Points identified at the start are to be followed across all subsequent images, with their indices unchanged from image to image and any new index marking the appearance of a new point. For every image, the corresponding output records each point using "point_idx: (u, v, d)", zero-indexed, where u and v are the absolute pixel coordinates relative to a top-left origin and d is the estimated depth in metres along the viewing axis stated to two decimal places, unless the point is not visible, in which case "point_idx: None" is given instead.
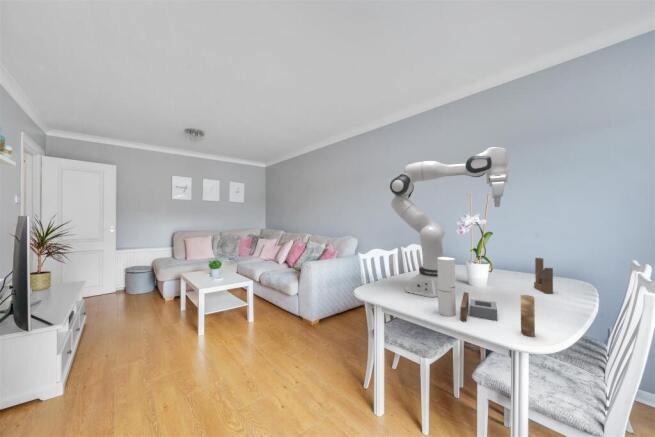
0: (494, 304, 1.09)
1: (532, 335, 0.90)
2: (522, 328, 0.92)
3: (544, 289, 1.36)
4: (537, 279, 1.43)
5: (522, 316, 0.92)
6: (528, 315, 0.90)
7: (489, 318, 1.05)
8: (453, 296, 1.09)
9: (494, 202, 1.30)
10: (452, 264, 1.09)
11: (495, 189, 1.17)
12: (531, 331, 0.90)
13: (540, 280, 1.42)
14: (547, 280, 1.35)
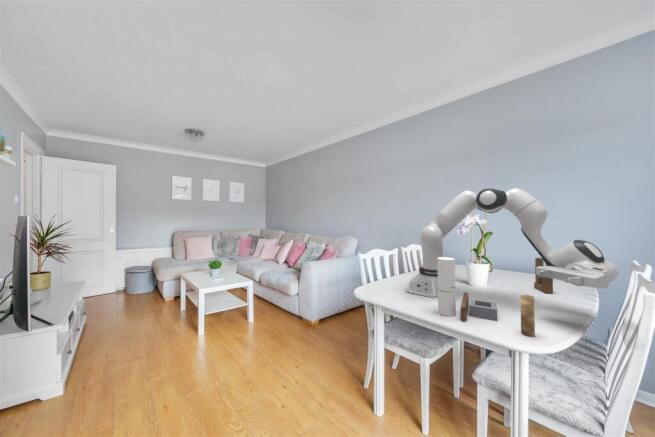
0: (494, 304, 1.09)
1: (532, 335, 0.90)
2: (522, 328, 0.92)
3: (544, 289, 1.36)
4: (537, 279, 1.43)
5: (522, 316, 0.92)
6: (528, 315, 0.90)
7: (489, 318, 1.05)
8: (453, 296, 1.09)
9: (542, 271, 1.00)
10: (452, 264, 1.09)
11: (601, 278, 0.86)
12: (531, 331, 0.90)
13: (540, 280, 1.42)
14: (547, 280, 1.35)
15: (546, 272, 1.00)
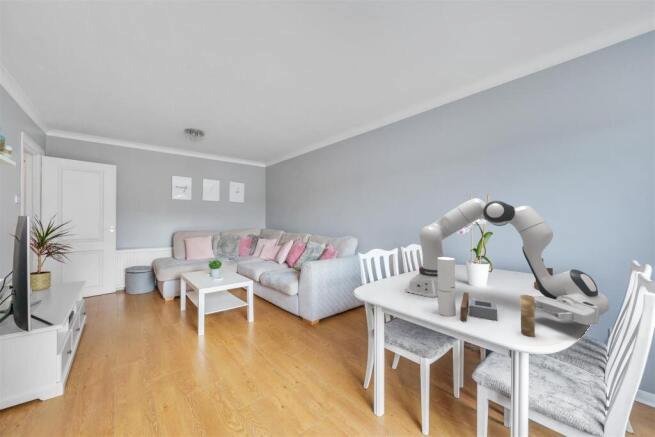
0: (494, 304, 1.09)
1: (532, 335, 0.90)
2: (522, 328, 0.92)
3: None
4: None
5: (522, 316, 0.92)
6: (528, 315, 0.90)
7: (489, 318, 1.05)
8: (453, 296, 1.09)
9: None
10: (452, 264, 1.09)
11: (591, 315, 0.86)
12: (531, 331, 0.90)
13: None
14: None
15: (537, 303, 1.00)
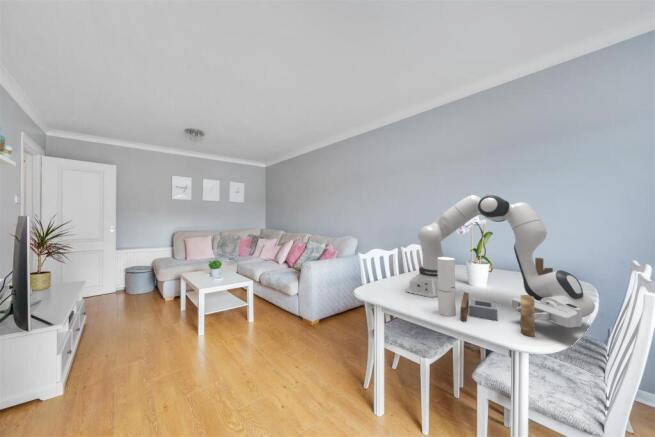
0: (494, 304, 1.09)
1: (532, 335, 0.90)
2: (522, 328, 0.92)
3: None
4: None
5: (522, 316, 0.92)
6: (528, 315, 0.90)
7: (489, 318, 1.05)
8: (453, 296, 1.09)
9: None
10: (452, 264, 1.09)
11: (574, 318, 0.84)
12: (531, 331, 0.90)
13: None
14: None
15: None
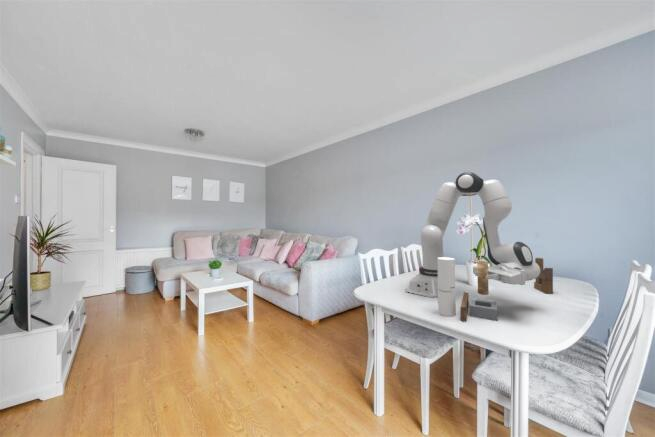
0: (494, 304, 1.09)
1: (486, 293, 1.08)
2: (478, 288, 1.10)
3: (544, 289, 1.36)
4: (537, 279, 1.43)
5: (478, 278, 1.10)
6: (482, 277, 1.08)
7: (489, 318, 1.05)
8: (453, 296, 1.09)
9: None
10: (452, 264, 1.09)
11: (517, 276, 1.02)
12: (485, 290, 1.08)
13: (540, 280, 1.42)
14: (547, 280, 1.35)
15: None
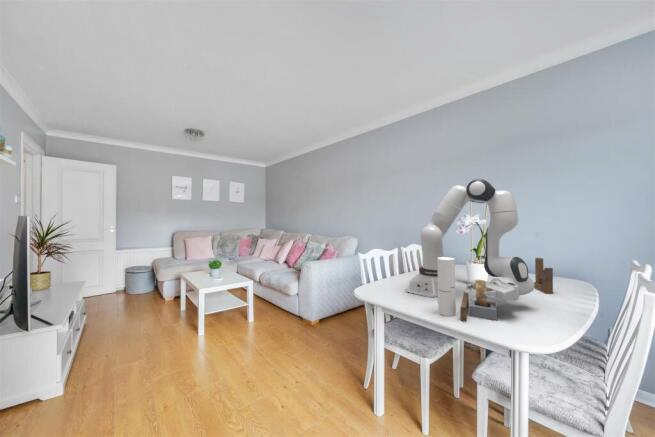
0: (494, 304, 1.09)
1: None
2: None
3: (544, 289, 1.36)
4: (537, 279, 1.43)
5: (477, 298, 1.11)
6: (480, 297, 1.09)
7: (489, 318, 1.05)
8: (453, 296, 1.09)
9: (470, 284, 1.17)
10: (452, 264, 1.09)
11: (510, 293, 1.03)
12: None
13: (540, 280, 1.42)
14: (547, 280, 1.35)
15: (474, 285, 1.17)
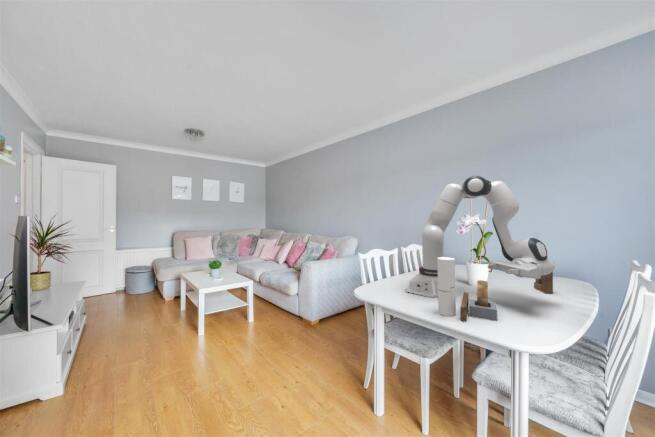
0: (494, 304, 1.09)
1: None
2: None
3: (544, 289, 1.36)
4: (537, 279, 1.43)
5: (477, 298, 1.11)
6: (481, 297, 1.09)
7: (489, 318, 1.05)
8: (453, 296, 1.09)
9: (491, 264, 1.20)
10: (452, 264, 1.09)
11: (533, 270, 1.06)
12: None
13: (540, 280, 1.42)
14: (547, 280, 1.35)
15: (495, 265, 1.20)
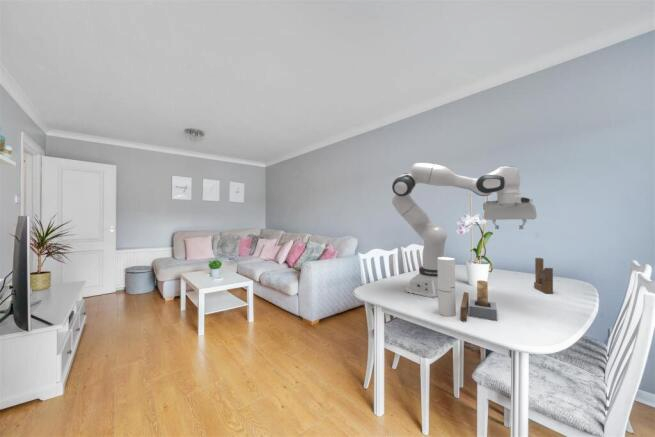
0: (494, 304, 1.09)
1: None
2: None
3: (544, 289, 1.36)
4: (537, 279, 1.43)
5: (477, 298, 1.11)
6: (481, 297, 1.09)
7: (489, 318, 1.05)
8: (453, 296, 1.09)
9: (495, 224, 1.20)
10: (452, 264, 1.09)
11: (535, 211, 1.12)
12: None
13: (540, 280, 1.42)
14: (547, 280, 1.35)
15: (495, 220, 1.21)
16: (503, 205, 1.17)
